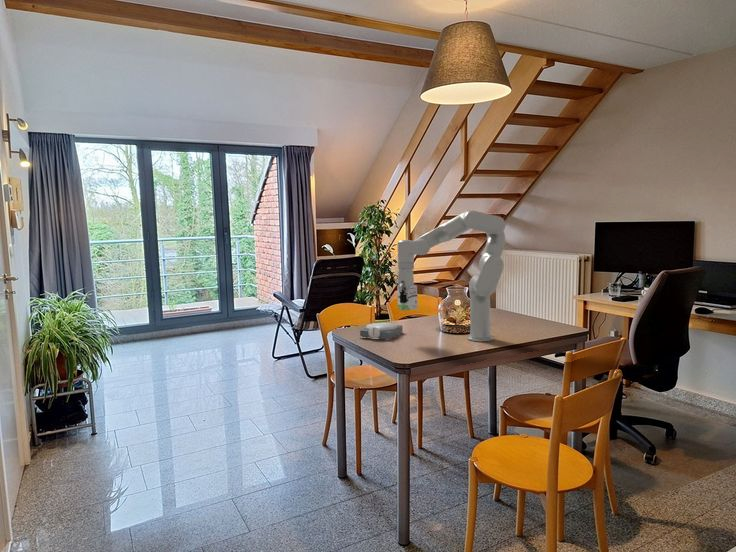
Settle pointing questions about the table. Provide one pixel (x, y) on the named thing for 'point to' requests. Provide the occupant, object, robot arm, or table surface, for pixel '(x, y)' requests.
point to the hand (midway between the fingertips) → (407, 301)
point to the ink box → (409, 299)
